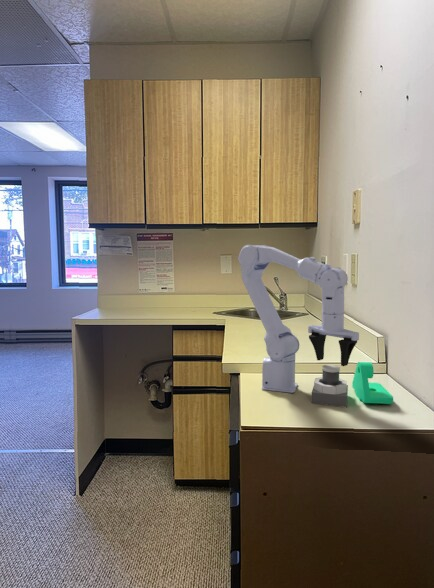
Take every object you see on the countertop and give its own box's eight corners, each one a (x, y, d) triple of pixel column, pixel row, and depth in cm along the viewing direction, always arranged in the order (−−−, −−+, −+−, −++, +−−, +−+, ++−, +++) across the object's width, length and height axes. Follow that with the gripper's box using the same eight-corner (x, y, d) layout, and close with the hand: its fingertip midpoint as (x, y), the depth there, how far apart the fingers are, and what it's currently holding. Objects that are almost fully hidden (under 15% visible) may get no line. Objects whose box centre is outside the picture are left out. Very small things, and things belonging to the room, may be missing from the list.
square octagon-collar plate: (311, 403, 105) (311, 385, 105) (314, 391, 114) (315, 375, 113) (346, 407, 102) (347, 388, 102) (347, 395, 111) (348, 378, 110)
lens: (332, 392, 105) (333, 370, 104) (318, 388, 108) (318, 366, 108) (342, 388, 108) (343, 367, 107) (328, 384, 111) (328, 363, 111)
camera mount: (394, 407, 103) (395, 369, 102) (364, 406, 103) (365, 368, 102) (379, 391, 115) (380, 357, 114) (352, 390, 115) (353, 356, 114)
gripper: (365, 314, 103) (364, 365, 104) (318, 308, 114) (318, 354, 115) (351, 317, 98) (349, 370, 100) (303, 311, 109) (303, 359, 111)
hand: (332, 362), depth 107 cm, fingers open, 7 cm apart
